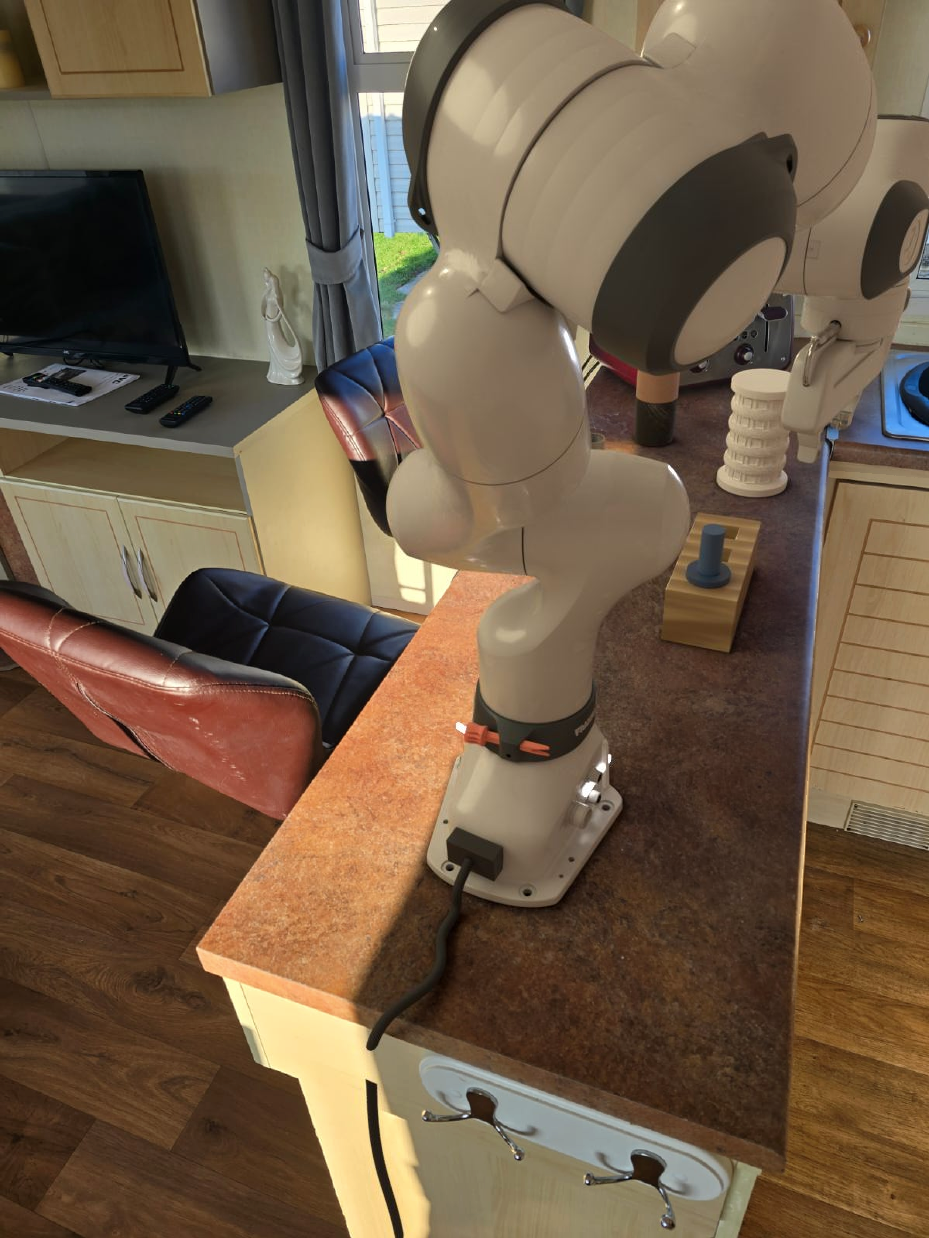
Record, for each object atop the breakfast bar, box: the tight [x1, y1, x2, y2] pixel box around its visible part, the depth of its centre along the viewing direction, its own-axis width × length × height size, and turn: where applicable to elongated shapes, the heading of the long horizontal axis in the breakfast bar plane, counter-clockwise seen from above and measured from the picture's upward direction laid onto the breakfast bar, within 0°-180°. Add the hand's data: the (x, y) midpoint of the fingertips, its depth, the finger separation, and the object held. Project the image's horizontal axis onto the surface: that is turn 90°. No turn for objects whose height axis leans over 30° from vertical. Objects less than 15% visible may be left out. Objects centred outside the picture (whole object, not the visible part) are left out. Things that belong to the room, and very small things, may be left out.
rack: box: [660, 511, 762, 654], centre depth 116 cm, size 21×9×8 cm, turn 157°
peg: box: [685, 524, 731, 589], centre depth 109 cm, size 6×6×13 cm
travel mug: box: [634, 369, 681, 447], centre depth 158 cm, size 8×8×20 cm
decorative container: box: [716, 368, 791, 498], centre depth 142 cm, size 12×12×18 cm
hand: (824, 443), depth 89 cm, fingers open, 8 cm apart
